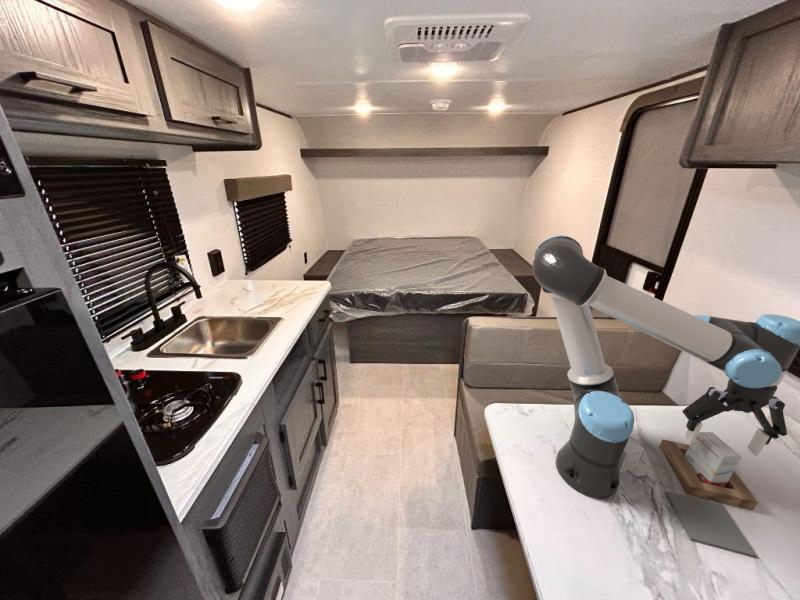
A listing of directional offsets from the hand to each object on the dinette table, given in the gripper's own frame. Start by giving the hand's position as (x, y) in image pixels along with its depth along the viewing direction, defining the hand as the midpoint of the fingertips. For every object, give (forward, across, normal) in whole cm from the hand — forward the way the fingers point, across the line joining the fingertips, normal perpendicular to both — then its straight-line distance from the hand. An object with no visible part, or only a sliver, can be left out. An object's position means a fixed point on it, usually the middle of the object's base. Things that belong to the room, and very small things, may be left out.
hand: (720, 445), depth 83 cm
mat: (+11, -7, -15) cm, 20 cm away
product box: (+11, -22, -2) cm, 24 cm away
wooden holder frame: (+11, 0, 0) cm, 11 cm away
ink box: (+12, 0, 0) cm, 12 cm away
